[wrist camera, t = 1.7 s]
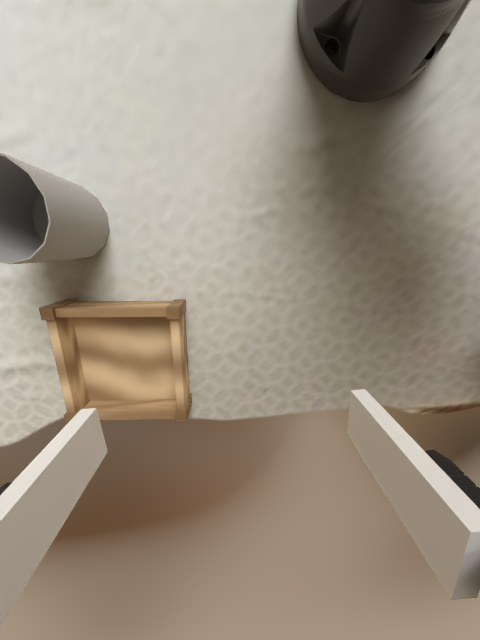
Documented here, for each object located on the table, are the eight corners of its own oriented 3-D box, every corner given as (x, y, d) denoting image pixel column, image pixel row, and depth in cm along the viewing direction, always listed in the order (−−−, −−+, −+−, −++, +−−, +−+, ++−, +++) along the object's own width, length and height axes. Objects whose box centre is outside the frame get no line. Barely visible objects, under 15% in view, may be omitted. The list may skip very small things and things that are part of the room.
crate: (64, 300, 31) (38, 308, 27) (185, 299, 32) (178, 307, 28) (85, 403, 36) (66, 424, 31) (191, 401, 36) (186, 421, 32)
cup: (76, 272, 30) (5, 283, 21) (20, 217, 29) (-86, 202, 19) (123, 227, 29) (71, 216, 20) (69, 166, 27) (-19, 121, 18)
